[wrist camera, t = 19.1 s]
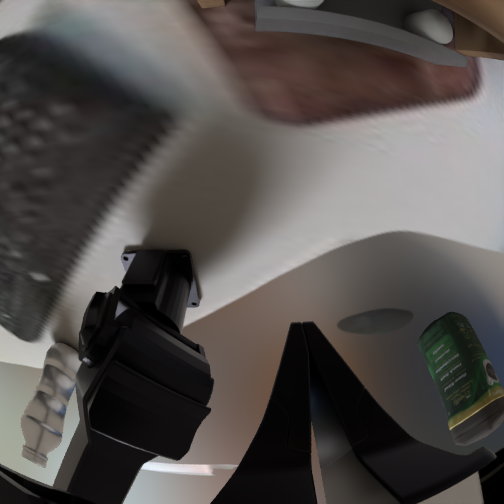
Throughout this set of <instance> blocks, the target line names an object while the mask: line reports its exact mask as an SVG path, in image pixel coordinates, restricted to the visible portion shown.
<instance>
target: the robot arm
mask: <svg viewBox="0 0 504 504" xmlns="http://www.w3.org/2000/svg"><path fill="white" fill-rule="evenodd" d="M183 255H186V256H187V257H184V256H183ZM125 256H126V257H128V258H126V257H125ZM121 260H122V263H123V266H124V269H125V271H126V274H125V276H124V278H123V280H122V286H121V288H120V289H119V288H118V287H117V286H115V287H114V288H113V289H112V290H111V291H110V292H108V293H106V292H105V293H102V292H96V293H95V294H94V295H93V297H92V299H91V301H90V303H89V305H88V307H87V309H86V311H85V313H84V317H83V321H82V326H81V330H80V332H79V356H78V358H79V361H81V362H82V363H81V365H80V367H79V369H78V372H77V374H76V376H75V385H76V394H77V402H78V409H79V416H80V422H79V424H78V427H77V429H76V431H75V433H74V436H73V438H72V440H71V442H70V445H69V447H68V449H67V452H66V454H65V456H64V459H63V461H62V464H61V466H60V469H59V471H58V474H57V476H56V479H55V481H54V484H53V487H52V486H49V485H47V484H44V483H41V482H39V481H36V480H34V479H31V478H29V477H27V476H24V475H22V474H20V473H18V472H16V471H13V470H12V469H9V468H7V467H5V466H4V465H1V464H0V504H123V502H124V500H125V498H126V496H127V494H128V492H129V490H130V488H131V486H132V484H133V482H134V480H135V478H136V476H137V474H138V472H139V470H140V469H141V467H142V466H143V464H144V463H146V462H148V461H150V460H152V459H154V458H156V457H158V456H162V457H166V458H169V459H172V460H176V461H178V460H180V459H181V458H182V457H183V456H184V455H185V454H186V453H187V452H188V451H189V449H190V446H191V443H192V441H193V438H194V435H195V433H196V431H197V429H198V427H199V426H200V424H201V422H202V421H203V420H204V419H205V418H206V416H207V415H208V414H209V413H210V411H211V408H209V407H207V404H208V402H209V400H210V398H211V394H212V391H213V386H214V379H213V378H212V377H211V374H210V365H209V363H208V361H207V359H206V357H205V352H204V348H203V347H202V346H201V345H199V344H195V343H194V342H192V341H191V340H189V339H188V338H186V337H184V336H183V335H181V333H182V328H183V323H184V318H185V313H186V309H187V307H198V306H199V303H200V300H199V295H198V290H197V285H196V279H195V274H194V269H193V263H192V258H191V253H190V252H189V251H187V250H138V251H126V252H123V254H122V255H121ZM194 302H196V303H194ZM311 421H312V426H313V431H314V437H315V441H316V447H317V452H318V457H319V463H320V468H321V474H322V480H323V486H324V491H325V497H326V503H327V504H504V447H503V448H501V449H500V450H498V451H497V452H495V453H493V452H492V451H490V450H489V449H487V448H485V447H481V448H479V449H477V450H476V451H474V452H472V453H470V454H468V455H458V454H454V453H451V452H448V451H445V450H442V449H439V448H436V447H433V446H430V445H427V444H424V443H422V442H420V441H418V440H416V439H415V438H413V437H412V436H410V435H409V434H408V433H407V432H406V431H405V430H404V429H403V428H402V427H401V426H400V425H399V424H398V423H397V422H396V421H395V420H394V419H393V418H392V417H391V416H390V415H389V414H388V413H387V412H386V411H385V410H384V409H383V408H382V407H381V406H380V405H379V404H378V403H377V401H376V400H375V399H374V398H373V397H372V395H371V394H370V393H369V391H368V390H367V389H366V388H365V386H364V385H363V384H362V383H361V381H360V380H359V379H358V377H357V376H356V375H355V374H354V372H353V371H352V370H351V369H350V367H349V366H348V365H347V363H346V362H345V361H344V360H343V358H342V357H341V356H340V355H339V353H338V352H337V351H336V350H335V348H334V347H333V346H332V344H331V343H330V342H329V341H328V339H327V338H326V337H325V335H324V334H323V333H322V332H321V330H320V329H319V328H318V327H317V325H316V324H315V323H314V322H313V321H305V322H302V323H301V322H292V323H291V324H290V327H289V331H288V335H287V339H286V343H285V346H284V350H283V354H282V357H281V361H280V365H279V368H278V372H277V375H276V379H275V382H274V386H273V389H272V392H271V396H270V399H269V402H268V405H267V408H266V411H265V414H264V417H263V420H262V422H261V424H260V426H259V428H258V431H257V433H256V435H255V437H254V438H253V440H252V442H251V444H250V446H249V448H248V450H247V452H246V454H245V455H244V457H243V459H242V461H241V462H240V464H239V466H238V467H237V469H236V471H235V472H234V474H233V475H232V476H231V478H230V479H229V480H228V482H227V483H226V484H225V486H224V487H223V488H222V489H221V491H220V492H219V494H218V495H217V496H216V497H215V498H214V500H213V501H212V502H211V503H210V504H317V498H316V492H315V487H314V481H313V475H312V466H311Z"/></svg>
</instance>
